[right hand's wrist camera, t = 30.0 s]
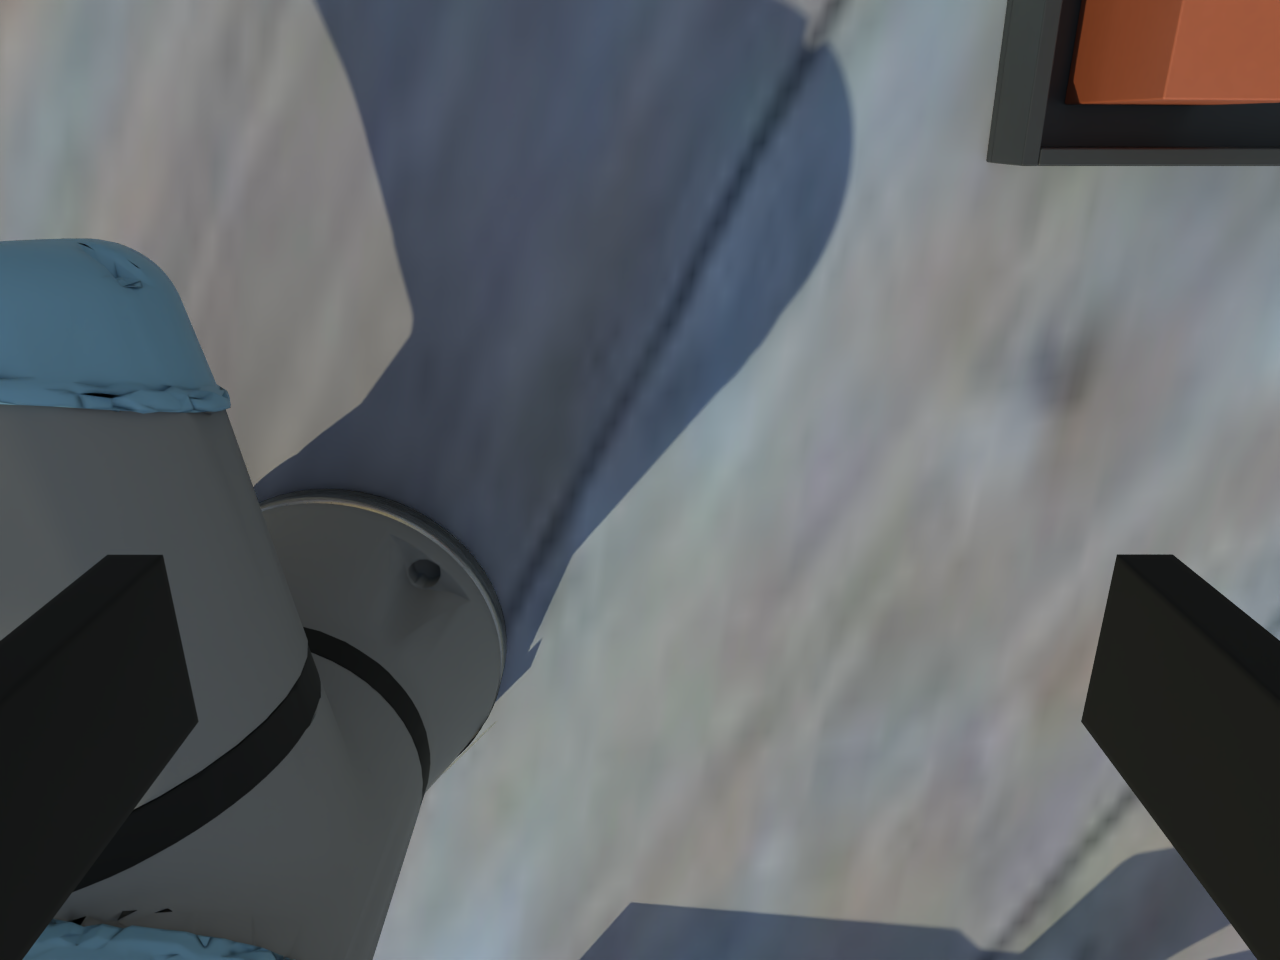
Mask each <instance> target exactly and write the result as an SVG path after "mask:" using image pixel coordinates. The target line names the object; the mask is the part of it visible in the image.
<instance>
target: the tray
mask: <svg viewBox="0 0 1280 960" xmlns="http://www.w3.org/2000/svg"><path fill="white" fill-rule="evenodd" d="M1081 2H1082V0H1008V1H1007V9H1006V17H1005V24H1004V32H1003V39H1002V47H1001V55H1000V62H999V70H998V77H997V85H996V92H995V100H994V108H993V115H992V123H991V130H990V138H989V145H988V153H987V162H991V163H1000V164H1010V165H1019V166H1280V103H1252V104H1224V105H1197V106H1184V105H1066V104H1065V99H1066V92H1067V86H1068V80H1069V74H1070V68H1071V62H1072V56H1073V50H1074V44H1075V38H1076V32H1077V26H1078V20H1079V14H1080V8H1081Z"/></svg>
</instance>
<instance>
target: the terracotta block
mask: <svg viewBox="0 0 1280 960" xmlns="http://www.w3.org/2000/svg"><path fill="white" fill-rule="evenodd" d="M1252 103H1280V0H1082V2H1081V8H1080V14H1079V20H1078V26H1077V32H1076V38H1075V44H1074V50H1073V56H1072V62H1071V68H1070V74H1069V80H1068V86H1067V92H1066V99H1065V104H1066V105H1184V106H1197V105H1224V104H1252Z"/></svg>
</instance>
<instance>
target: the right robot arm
mask: <svg viewBox="0 0 1280 960" xmlns="http://www.w3.org/2000/svg"><path fill="white" fill-rule="evenodd" d="M230 406H231V404H230V397H229V394H228V392H227V391H226V390H225V389H223V388H222V387H220V386H218V385H217V384H216V382H215V380H214V377H213V375H212V373H211V370H210V368H209V365H208V363H207V361H206V358H205V356H204V353H203V351H202V349H201V346H200V344H199V341H198V339H197V337H196V334H195V332H194V330H193V327H192V325H191V322H190V320H189V318H188V315H187V313H186V310H185V308H184V306H183V303H182V301H181V298H180V296H179V294H178V292H177V290H176V288H175V287H174V285H173V283H172V282H171V280H170V279H169V278H168V276H167V275H166V274H165V273H164V272H163V271H162V270H161V268H160V267H158V266H157V265H156V264H155V263H154V262H153V261H151V260H150V259H149V258H147V257H146V256H144V255H142V254H141V253H139V252H137V251H135V250H133V249H131V248H129V247H127V246H124V245H121V244H118V243H115V242H109V241H104V240H99V239H41V240H19V241H0V960H372V959H373V956H374V953H375V950H376V947H377V944H378V940H379V937H380V934H381V931H382V928H383V925H384V921H385V918H386V915H387V912H388V909H389V905H390V902H391V899H392V896H393V893H394V890H395V886H396V883H397V880H398V877H399V874H400V871H401V867H402V864H403V861H404V858H405V855H406V852H407V848H408V845H409V842H410V839H411V836H412V832H413V829H414V826H415V823H416V820H417V817H418V813H419V810H420V806H421V803H422V800H423V797H424V794H425V792H426V791H427V790H428V789H429V788H430V787H431V786H432V785H433V783H434V782H435V781H436V780H437V779H438V778H439V777H440V776H441V775H442V774H443V773H444V772H445V771H447V770H448V769H449V768H450V767H451V766H452V765H453V764H454V763H455V762H456V761H457V760H458V759H459V758H460V757H461V756H462V755H463V754H464V753H465V752H466V751H467V750H468V749H469V748H470V747H471V746H472V745H473V744H474V743H475V742H476V741H478V740H479V739H480V738H481V737H482V736H483V735H484V734H485V733H486V732H487V731H488V730H489V729H490V728H491V727H492V726H493V725H494V724H495V723H496V722H495V723H494V724H493V725H492V726H491V727H489V728H488V729H487V730H486V731H485V732H484V733H483V734H482V735H481V736H480V737H479V738H478V739H477V740H476V741H475V742H473V743H472V744H471V745H470V746H469V744H470V743H471V742H472V741H473V739H474V738H475V737H476V735H477V734H478V732H479V731H480V729H481V728H482V726H483V724H484V723H485V721H486V720H487V718H488V716H489V714H490V712H491V710H492V708H493V706H494V703H495V700H496V697H497V695H498V691H499V687H500V683H501V679H502V675H503V671H504V666H505V660H506V651H507V646H506V629H505V622H504V618H503V613H502V609H501V606H500V603H499V601H498V598H497V595H496V593H495V591H494V589H493V587H492V584H491V582H490V581H489V579H488V577H487V576H486V574H485V572H484V571H483V569H482V568H481V566H480V565H479V564H478V562H477V561H476V560H475V558H474V557H473V556H472V555H471V554H470V553H469V551H468V550H467V549H466V548H465V547H464V546H463V545H462V544H461V543H460V542H459V541H458V540H457V539H456V538H455V537H453V536H452V535H451V534H450V533H449V532H447V531H446V530H445V529H444V528H442V527H441V526H440V525H438V524H437V523H435V522H434V521H432V520H431V519H429V518H427V517H426V516H424V515H422V514H421V513H419V512H417V511H415V510H413V509H411V508H409V507H407V506H404V505H402V504H399V503H397V502H395V501H392V500H389V499H386V498H383V497H379V496H376V495H372V494H367V493H363V492H357V491H349V490H339V489H314V490H304V491H297V492H292V493H288V494H283V495H279V496H276V497H273V498H270V499H267V500H265V501H262V502H260V503H259V502H258V499H257V496H256V494H255V491H254V488H253V485H252V482H251V480H250V477H249V474H248V471H247V468H246V465H245V463H244V460H243V457H242V454H241V451H240V449H239V446H238V443H237V440H236V437H235V435H234V432H233V429H232V426H231V423H230V421H229V418H228V415H227V412H226V409H227V408H231V407H230ZM1081 722H1082V723H1083V725H1084V726H1085V727H1086V729H1087V730H1088V731H1089V733H1090V734H1091V735H1092V737H1093V738H1094V739H1095V741H1096V742H1097V744H1098V745H1099V746H1100V748H1101V749H1102V750H1103V752H1104V753H1105V754H1106V756H1107V757H1108V758H1109V760H1110V761H1111V762H1112V764H1113V765H1114V766H1115V768H1116V769H1117V771H1118V772H1119V773H1120V775H1121V776H1122V777H1123V779H1124V780H1125V781H1126V783H1127V784H1128V785H1129V787H1130V788H1131V789H1132V791H1133V792H1134V793H1135V795H1136V796H1137V798H1138V799H1139V800H1140V802H1141V803H1142V804H1143V806H1144V807H1145V808H1146V810H1147V811H1148V812H1149V814H1150V815H1151V816H1152V818H1153V819H1154V820H1155V822H1156V823H1157V825H1158V826H1159V827H1160V829H1161V830H1162V831H1163V833H1164V834H1165V835H1166V837H1167V838H1168V839H1169V841H1170V842H1171V843H1172V845H1173V846H1174V848H1175V849H1176V850H1177V852H1178V853H1179V854H1180V856H1181V857H1182V858H1183V860H1184V861H1185V862H1186V864H1187V865H1188V866H1189V868H1190V869H1191V870H1192V872H1193V873H1194V875H1195V876H1196V877H1197V879H1198V880H1199V881H1200V883H1201V884H1202V885H1203V887H1204V888H1205V889H1206V891H1207V892H1208V893H1209V895H1210V896H1211V897H1212V899H1213V900H1214V902H1215V903H1216V904H1217V906H1218V907H1219V908H1220V910H1221V911H1222V912H1223V914H1224V915H1225V916H1226V918H1227V919H1228V920H1229V922H1230V923H1231V924H1232V926H1233V927H1234V929H1235V930H1236V931H1237V933H1238V934H1239V935H1240V937H1241V938H1242V939H1243V941H1244V942H1245V943H1246V945H1247V946H1248V947H1249V949H1250V950H1251V951H1252V953H1253V954H1254V956H1255V957H1256V958H1257V960H1280V641H1279V640H1278V639H1277V638H1276V637H1274V636H1273V635H1272V634H1271V633H1269V632H1268V631H1267V630H1266V629H1264V628H1263V627H1262V626H1261V625H1259V624H1258V623H1257V622H1256V621H1254V620H1253V619H1252V618H1251V617H1250V616H1248V615H1247V614H1246V613H1245V612H1243V611H1242V610H1241V609H1240V608H1238V607H1237V606H1236V605H1235V604H1233V603H1232V602H1231V601H1230V600H1228V599H1227V598H1226V597H1225V596H1223V595H1222V594H1221V593H1220V592H1218V591H1217V590H1216V589H1215V588H1213V587H1212V586H1211V585H1210V584H1209V583H1207V582H1206V581H1205V580H1204V579H1202V578H1201V577H1200V576H1199V575H1197V574H1196V573H1195V572H1194V571H1192V570H1191V569H1190V568H1189V567H1187V566H1186V565H1185V564H1184V563H1182V562H1181V561H1180V560H1179V559H1177V558H1176V557H1175V556H1174V555H1117V557H1116V562H1115V566H1114V571H1113V576H1112V581H1111V585H1110V590H1109V595H1108V599H1107V604H1106V609H1105V613H1104V618H1103V623H1102V627H1101V632H1100V637H1099V641H1098V646H1097V651H1096V655H1095V660H1094V665H1093V669H1092V674H1091V679H1090V684H1089V688H1088V693H1087V698H1086V702H1085V707H1084V712H1083V716H1082V721H1081ZM468 746H469V747H468ZM467 747H468V748H467ZM466 748H467V749H466ZM465 749H466V750H465ZM464 750H465V751H464ZM463 751H464V752H463ZM462 752H463V753H462ZM461 753H462V754H461ZM460 754H461V755H460ZM458 755H460V756H459V757H458V758H457V759H456V760H455V758H456V757H457V756H458ZM454 760H455V761H454ZM453 761H454V762H453ZM452 762H453V763H452ZM451 763H452V764H451ZM450 764H451V765H450Z"/></svg>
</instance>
